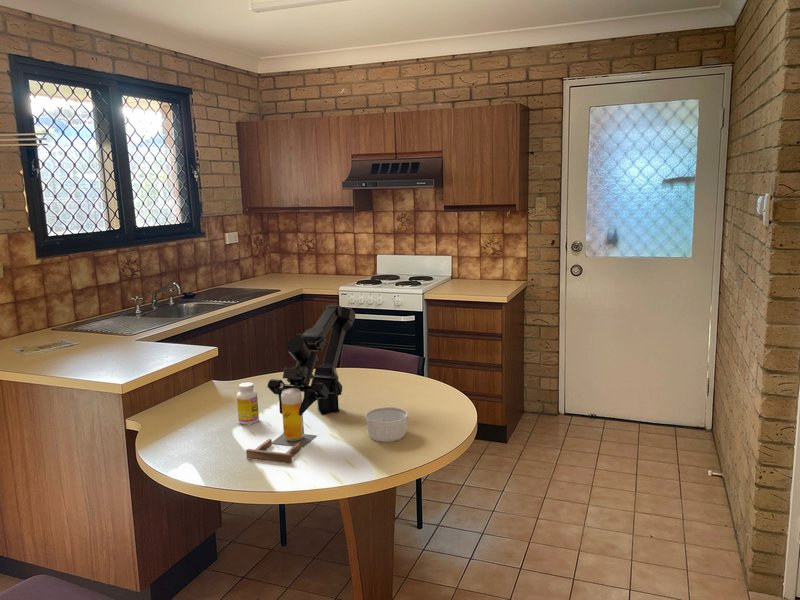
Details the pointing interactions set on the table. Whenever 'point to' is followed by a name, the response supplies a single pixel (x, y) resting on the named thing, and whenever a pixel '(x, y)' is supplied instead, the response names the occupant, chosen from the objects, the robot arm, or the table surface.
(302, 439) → the mat
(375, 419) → the ramekin
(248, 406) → the supplement bottle
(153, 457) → the table surface
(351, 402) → the table surface
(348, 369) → the table surface
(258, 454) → the frame
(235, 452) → the table surface
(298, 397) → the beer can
